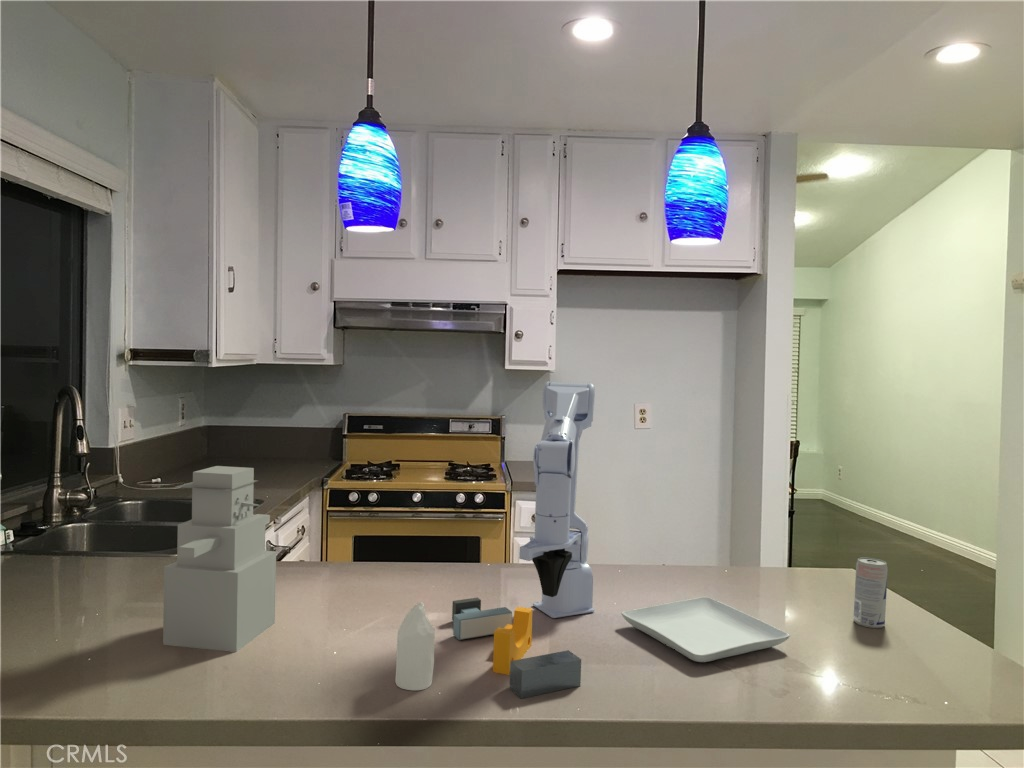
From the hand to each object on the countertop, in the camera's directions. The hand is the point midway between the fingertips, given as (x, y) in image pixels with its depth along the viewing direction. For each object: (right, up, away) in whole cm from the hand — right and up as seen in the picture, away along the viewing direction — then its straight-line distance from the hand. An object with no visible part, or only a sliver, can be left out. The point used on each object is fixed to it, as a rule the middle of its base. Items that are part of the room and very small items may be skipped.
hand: (549, 594), depth 119 cm
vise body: (-2, -10, -13) cm, 16 cm away
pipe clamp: (-7, -10, -3) cm, 12 cm away
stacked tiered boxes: (-56, -8, +3) cm, 56 cm away
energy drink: (+62, -11, +18) cm, 65 cm away
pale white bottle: (-21, -10, -12) cm, 26 cm away
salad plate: (+27, -11, +8) cm, 30 cm away
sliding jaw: (-13, -8, +9) cm, 18 cm away
